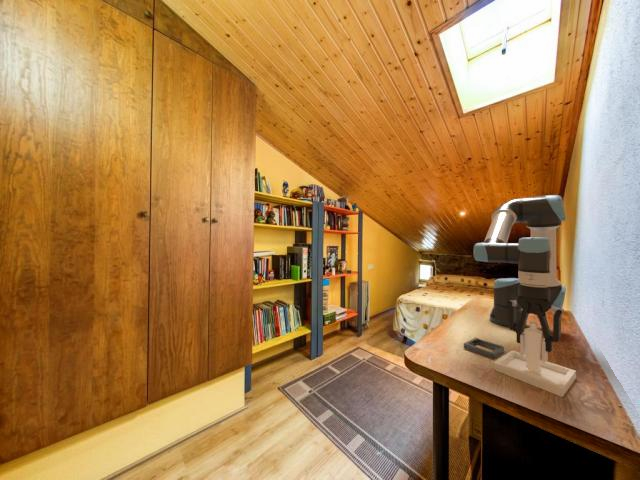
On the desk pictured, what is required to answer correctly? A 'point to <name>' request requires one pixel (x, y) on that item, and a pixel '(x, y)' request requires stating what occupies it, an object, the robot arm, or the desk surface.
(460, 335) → the desk surface
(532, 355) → the perfume bottle
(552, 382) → the tray
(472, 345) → the ring collar
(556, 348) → the desk surface
